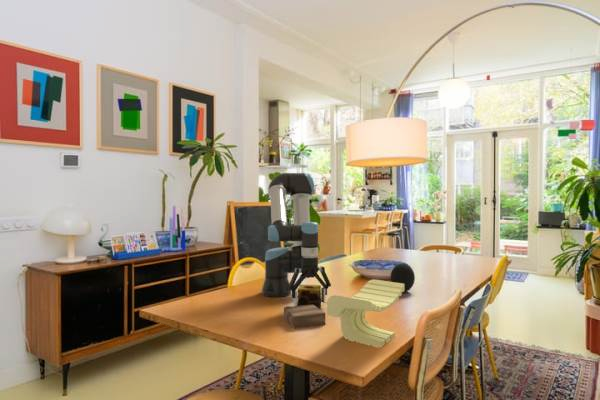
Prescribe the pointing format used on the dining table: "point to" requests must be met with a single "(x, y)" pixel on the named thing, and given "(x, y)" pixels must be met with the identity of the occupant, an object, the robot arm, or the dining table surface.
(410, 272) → the decorative egg
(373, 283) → the slatted curved stool
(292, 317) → the walnut block
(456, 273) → the dining table surface
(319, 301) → the candle
